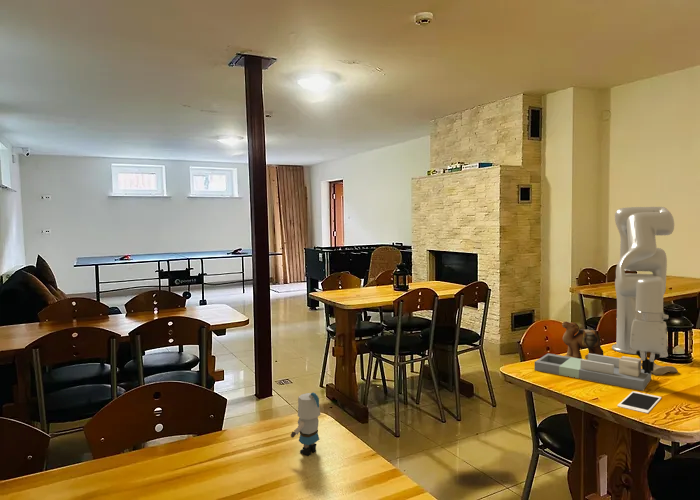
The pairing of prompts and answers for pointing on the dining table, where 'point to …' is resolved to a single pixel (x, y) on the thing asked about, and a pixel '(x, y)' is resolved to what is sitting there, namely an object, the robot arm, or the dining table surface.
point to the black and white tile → (639, 402)
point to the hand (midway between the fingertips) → (647, 372)
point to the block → (630, 366)
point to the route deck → (592, 370)
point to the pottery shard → (662, 369)
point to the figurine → (580, 340)
